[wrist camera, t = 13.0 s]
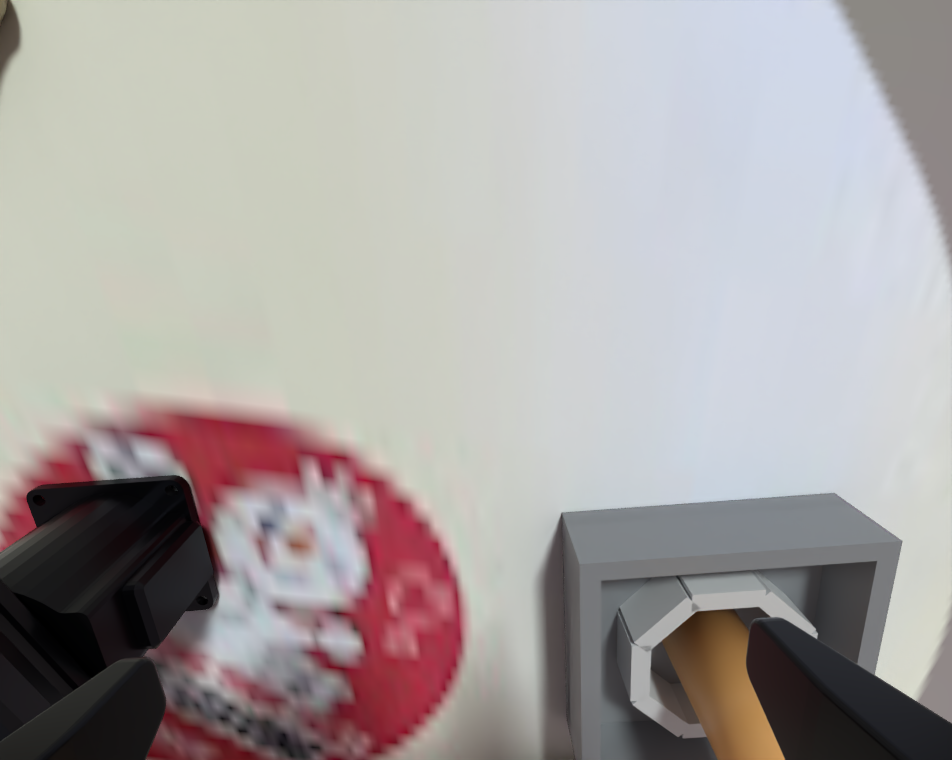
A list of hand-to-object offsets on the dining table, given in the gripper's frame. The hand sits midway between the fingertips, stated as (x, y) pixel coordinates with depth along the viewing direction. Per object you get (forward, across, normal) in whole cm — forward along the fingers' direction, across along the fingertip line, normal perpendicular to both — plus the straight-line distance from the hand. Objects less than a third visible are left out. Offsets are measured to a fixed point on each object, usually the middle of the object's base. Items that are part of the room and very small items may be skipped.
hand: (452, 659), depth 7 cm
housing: (+13, -10, +12) cm, 20 cm away
